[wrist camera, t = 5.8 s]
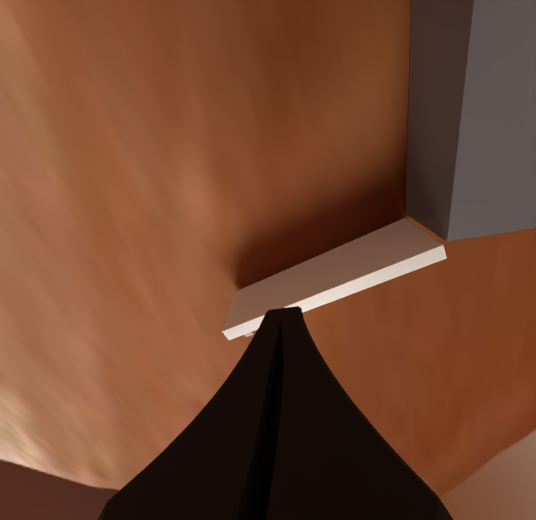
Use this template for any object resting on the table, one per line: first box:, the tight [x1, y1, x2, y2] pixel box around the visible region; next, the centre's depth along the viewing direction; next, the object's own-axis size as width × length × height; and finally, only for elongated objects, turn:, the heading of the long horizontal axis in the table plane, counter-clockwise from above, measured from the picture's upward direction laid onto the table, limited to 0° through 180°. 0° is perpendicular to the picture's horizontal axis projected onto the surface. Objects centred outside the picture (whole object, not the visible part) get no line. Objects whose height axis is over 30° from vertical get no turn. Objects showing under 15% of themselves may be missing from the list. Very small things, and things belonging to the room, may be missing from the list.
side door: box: [222, 218, 446, 340], centre depth 16 cm, size 13×2×4 cm, turn 119°
